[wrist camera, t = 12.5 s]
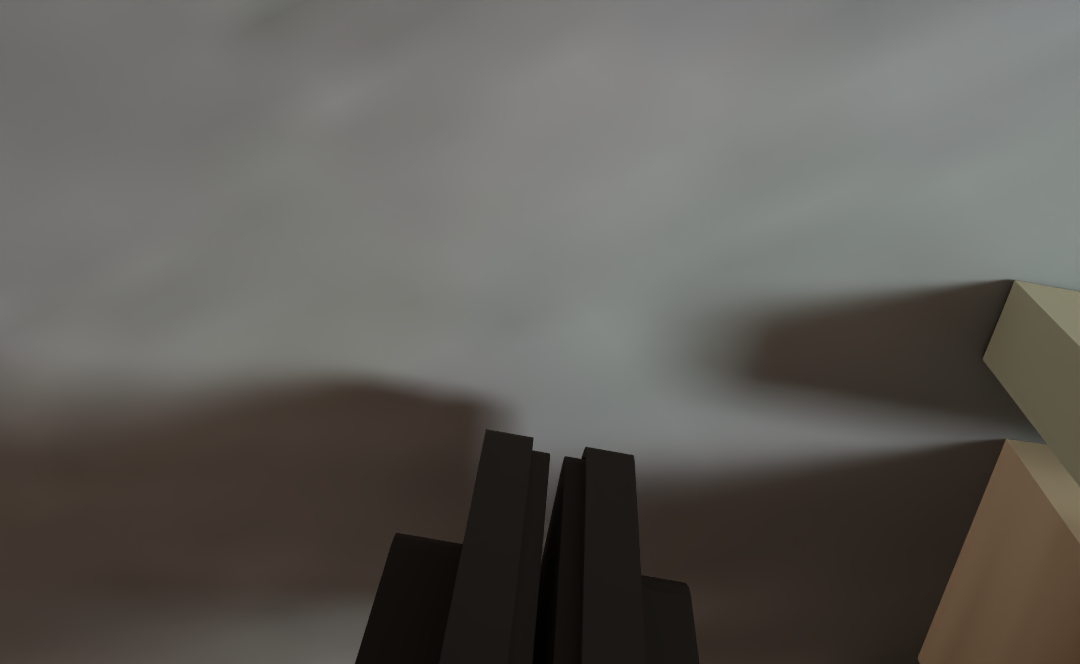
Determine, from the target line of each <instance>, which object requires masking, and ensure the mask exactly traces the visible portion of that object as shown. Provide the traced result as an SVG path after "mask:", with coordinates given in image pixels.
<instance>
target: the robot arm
mask: <svg viewBox="0 0 1080 664" xmlns="http://www.w3.org/2000/svg"><path fill="white" fill-rule="evenodd" d="M532 447H533V438H532V437H527V436H521V435H515V434H510V433H504V432H498V431H493V430H487V429H486V433H485V437H484V442H483V447H482V452H481V457H480V462H479V467H478V472H477V477H476V482H475V487H474V492H473V497H472V502H471V507H470V512H469V517H468V522H467V527H466V532H465V537H464V542H463V544H458V543H452V542H446V541H440V540H435V539H429V538H423V537H417V536H412V535H406V534H400V533H396V534H395V536H394V539H393V542H392V544H391V548H390V551H389V554H388V557H387V561H386V564H385V567H384V570H383V574H382V577H381V580H380V584H379V587H378V590H377V593H376V597H375V600H374V603H373V606H372V610H371V613H370V616H369V620H368V623H367V626H366V629H365V633H364V636H363V639H362V642H361V646H360V649H359V652H358V656H357V659H356V662H355V664H699V659H698V651H697V642H696V634H695V626H694V618H693V610H692V601H691V595H690V590H689V587H688V586H687V584H686V583H683V582H677V581H672V580H666V579H660V578H654V577H648V576H643V575H641V567H640V549H639V531H638V513H637V495H636V477H635V461H634V456H633V455H629V454H623V453H618V452H612V451H606V450H601V449H595V448H589V447H585V449H584V452H583V455H582V459H578V458H572V457H566V456H565V457H564V460H563V464H562V468H561V473H560V478H559V482H558V487H557V492H556V496H555V501H554V506H553V510H552V515H551V520H550V524H549V529H548V534H547V538H546V543H545V548H544V552H543V557H542V545H543V533H544V521H545V510H546V498H547V486H548V474H549V463H550V454H549V453H544V452H538V451H532ZM541 557H542V562H541Z"/></svg>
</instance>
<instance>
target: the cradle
mask: <svg viewBox="0 0 1080 664" xmlns="http://www.w3.org/2000/svg"><path fill="white" fill-rule="evenodd" d="M983 361H984V362H985V363H986V365H987V366H988V367H989V369H990V370H991V371H992V373H993V374H994V375H995V377H996V378H997V379H998V380H999V382H1000V383H1001V384H1002V386H1003V387H1004V388H1005V390H1006V391H1007V392H1008V394H1009V395H1010V396H1011V398H1012V399H1013V400H1014V401H1015V403H1016V404H1017V405H1018V407H1019V408H1020V409H1021V411H1022V412H1023V413H1024V415H1025V416H1026V417H1027V419H1028V420H1029V421H1030V423H1031V424H1032V425H1033V426H1034V428H1035V429H1036V430H1037V432H1038V433H1039V434H1040V436H1041V437H1042V438H1043V440H1044V441H1045V442H1046V444H1047V445H1048V446H1049V447H1050V449H1051V450H1052V451H1053V453H1054V454H1055V455H1056V457H1057V458H1058V459H1059V461H1060V462H1061V463H1062V465H1063V466H1064V467H1065V469H1066V470H1067V471H1068V472H1069V474H1070V475H1071V476H1072V478H1073V479H1074V480H1075V482H1076V483H1077V484H1078V486H1079V487H1080V292H1078V291H1072V290H1067V289H1061V288H1056V287H1050V286H1044V285H1039V284H1033V283H1027V282H1022V281H1016V280H1015V281H1014V283H1013V286H1012V288H1011V291H1010V293H1009V296H1008V298H1007V301H1006V303H1005V305H1004V308H1003V310H1002V313H1001V315H1000V318H999V320H998V323H997V325H996V328H995V330H994V332H993V335H992V337H991V340H990V342H989V345H988V347H987V350H986V352H985V355H984V357H983Z"/></svg>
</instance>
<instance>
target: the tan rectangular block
mask: <svg viewBox="0 0 1080 664" xmlns="http://www.w3.org/2000/svg"><path fill="white" fill-rule="evenodd" d="M918 661H919V663H920V664H1080V487H1079V486H1078V484H1077V483H1076V482H1075V480H1074V479H1073V478H1072V476H1071V475H1070V474H1069V472H1068V471H1067V470H1066V469H1065V467H1064V466H1063V465H1062V463H1061V462H1060V461H1059V459H1058V458H1057V457H1056V455H1055V454H1054V453H1053V451H1052V450H1051V449H1050V447H1049V446H1048V445H1044V444H1038V443H1031V442H1024V441H1018V440H1011V439H1006V440H1005V443H1004V445H1003V448H1002V450H1001V453H1000V455H999V458H998V460H997V463H996V465H995V468H994V470H993V473H992V475H991V478H990V480H989V483H988V485H987V487H986V490H985V492H984V495H983V497H982V500H981V502H980V505H979V507H978V510H977V512H976V515H975V517H974V520H973V522H972V525H971V527H970V529H969V532H968V534H967V537H966V539H965V542H964V544H963V547H962V549H961V552H960V554H959V557H958V559H957V562H956V564H955V567H954V569H953V572H952V574H951V576H950V579H949V581H948V584H947V586H946V589H945V591H944V594H943V596H942V599H941V601H940V604H939V606H938V609H937V611H936V614H935V616H934V619H933V621H932V623H931V626H930V628H929V631H928V633H927V636H926V638H925V641H924V643H923V646H922V648H921V651H920V653H919V656H918Z"/></svg>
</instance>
